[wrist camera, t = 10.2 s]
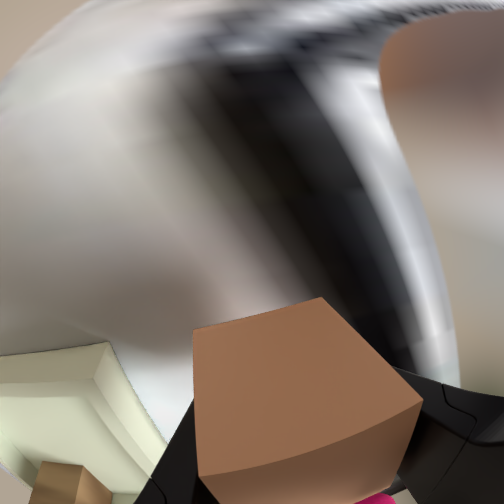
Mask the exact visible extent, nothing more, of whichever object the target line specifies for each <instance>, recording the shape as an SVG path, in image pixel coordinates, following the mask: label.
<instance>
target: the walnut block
mask: <svg viewBox="0 0 504 504" xmlns="http://www.w3.org/2000/svg"><path fill="white" fill-rule="evenodd" d="M112 495H113V493H112V492H111V491H110V490H109V489H108V488H107V487H105V486H104V485H103V484H102V483H101V482H100V481H99V480H98V479H97V478H96V477H95V476H93V475H92V474H91V473H90V472H89V471H88V470H87V469H86V468H85V467H84V466H83V465H72V464H63V463H55V462H48V461H42V463H41V466H40V468H39V471H38V474H37V477H36V481H35V484H34V487H33V490H32V494H31V497H30V501H29V504H111V503H112Z"/></svg>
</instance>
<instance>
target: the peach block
mask: <svg viewBox="0 0 504 504" xmlns="http://www.w3.org/2000/svg"><path fill="white" fill-rule="evenodd" d="M193 383H194V412H195V432H196V448H197V462H198V474H199V478H200V479H201V480H202V482H203V483H204V484H205V485H206V487H207V488H208V489H209V491H210V492H211V493H212V494H213V496H214V497H215V498H216V499H217V500H218V502H219V503H220V504H354V503H356V502H359V501H361V500H363V499H365V498H368V497H370V496H372V495H374V494H376V493H378V492H380V491H382V490H384V489H386V488H388V487H390V486H391V484H392V482H393V479H394V477H395V475H396V473H397V471H398V469H399V466H400V464H401V462H402V459H403V457H404V454H405V452H406V449H407V447H408V444H409V442H410V439H411V436H412V433H413V431H414V428H415V425H416V422H417V419H418V416H419V413H420V410H421V406H422V403H423V398H422V397H421V396H420V395H419V394H418V393H417V392H416V391H415V390H414V389H413V388H412V387H411V386H410V385H409V384H408V383H407V382H406V381H405V380H404V379H403V378H402V377H401V376H400V375H399V374H398V373H397V372H396V371H395V370H394V369H393V368H392V367H391V366H390V365H389V364H388V363H387V362H386V361H385V360H384V359H383V358H382V357H381V356H380V355H379V354H378V353H377V352H376V351H375V350H374V349H373V348H372V347H371V346H370V345H369V344H368V343H367V342H366V341H365V340H364V339H363V338H362V337H361V336H360V335H359V334H358V333H357V332H356V331H355V330H354V329H353V328H352V327H351V326H350V325H349V324H348V323H347V322H346V321H345V320H344V319H343V318H342V317H341V316H340V315H339V314H338V313H337V312H336V311H335V310H334V309H333V308H332V307H331V306H330V305H329V304H328V303H327V302H326V301H325V300H324V299H323V298H322V297H320V298H316V299H313V300H309V301H306V302H302V303H299V304H295V305H291V306H288V307H284V308H280V309H277V310H273V311H269V312H265V313H261V314H257V315H253V316H249V317H245V318H241V319H237V320H233V321H229V322H225V323H220V324H216V325H212V326H207V327H203V328H198V329H194V330H193Z"/></svg>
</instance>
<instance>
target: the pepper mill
mask: <svg viewBox="0 0 504 504" xmlns="http://www.w3.org/2000/svg"><path fill="white" fill-rule="evenodd" d="M354 504H396V503H395V501H394V499H393V498H392V497H391V496H389V495H386V494H383V493H376V494H374V495H372V496H370V497H368V498H365V499H363V500H361V501H359V502H356V503H354Z"/></svg>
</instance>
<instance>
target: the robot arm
mask: <svg viewBox="0 0 504 504" xmlns="http://www.w3.org/2000/svg"><path fill="white" fill-rule="evenodd" d="M391 367H392V368H393V369H394V370H395V371H396V372H397V373H398V374H399V375H400V376H401V377H402V378H403V379H404V380H405V381H406V382H407V383H408V384H409V385H410V386H411V387H412V388H413V389H414V390H415V391H416V392H417V393H418V394H419V395H420V396H421V397H422V398H423V403H422V406H421V410H420V413H419V416H418V419H417V422H416V425H415V428H414V431H413V433H412V436H411V439H410V442H409V444H408V447H407V449H406V452H405V454H404V457H403V459H402V462H401V464H400V466H399V469H398V471H397V474H398V476H399V477H400V479H401V480H402V481H403V483H404V484H405V486H406V487H407V489H408V490H409V492H410V493H411V495H412V496H413V498H414V499H415V500H416V502H417V503H418V504H504V397H501V396H495V395H488V394H482V393H477V392H472V391H468V390H464V389H460V388H457V387H453V386H450V385H447V384H441V383H440V382H437V381H434V380H431V379H428V378H425V377H422V376H419V375H416V374H413V373H410V372H407V371H404V370H401V369H398V368H396V367H393V366H391ZM150 477H151V478H149V479H148V481H147V482H146V484H145V486H144V488H143V489H142V491H141V492H140V494H139V496H138V497H137V499H136V500H135V502H134V503H133V504H220V503H219V502H218V500H217V499H216V498H215V497H214V496H213V494H212V493H211V492H210V491H209V489H208V488H207V487H206V485H205V484H204V483H203V482H202V480H201V479H200V478H199V474H198V462H197V448H196V432H195V412H194V399H193V401H192V402H191V404H190V406H189V408H188V410H187V411H186V413H185V415H184V417H183V419H182V420H181V422H180V424H179V426H178V428H177V430H176V431H175V433H174V435H173V437H172V438H171V440H170V442H169V444H168V446H167V447H166V449H165V451H164V453H163V455H162V456H161V458H160V460H159V462H158V463H157V465H156V467H155V469H154V470H153V472H152V474H151V476H150Z"/></svg>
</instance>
